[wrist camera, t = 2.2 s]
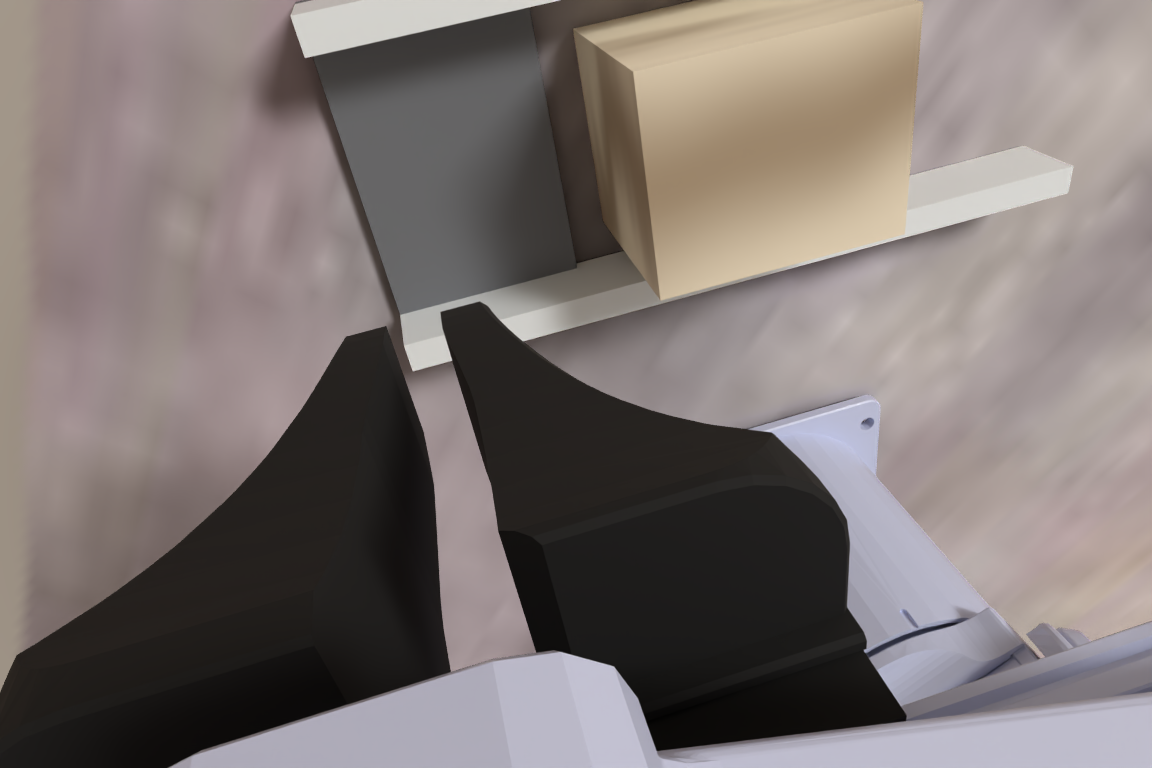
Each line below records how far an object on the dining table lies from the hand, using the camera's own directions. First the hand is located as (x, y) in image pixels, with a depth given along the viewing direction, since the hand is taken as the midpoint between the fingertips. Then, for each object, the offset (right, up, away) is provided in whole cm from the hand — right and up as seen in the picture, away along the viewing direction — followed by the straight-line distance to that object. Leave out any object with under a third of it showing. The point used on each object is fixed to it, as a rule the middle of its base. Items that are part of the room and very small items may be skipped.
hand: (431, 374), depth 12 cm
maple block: (+5, +7, +9) cm, 12 cm away
